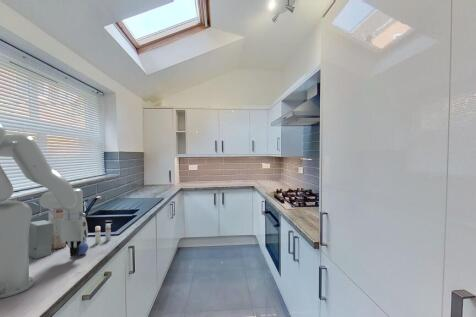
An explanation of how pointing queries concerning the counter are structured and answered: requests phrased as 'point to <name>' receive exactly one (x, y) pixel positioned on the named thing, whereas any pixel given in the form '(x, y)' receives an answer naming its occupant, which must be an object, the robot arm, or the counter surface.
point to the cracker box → (56, 227)
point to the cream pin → (97, 234)
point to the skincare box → (40, 238)
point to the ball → (82, 248)
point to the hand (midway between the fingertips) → (74, 255)
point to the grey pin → (108, 232)
